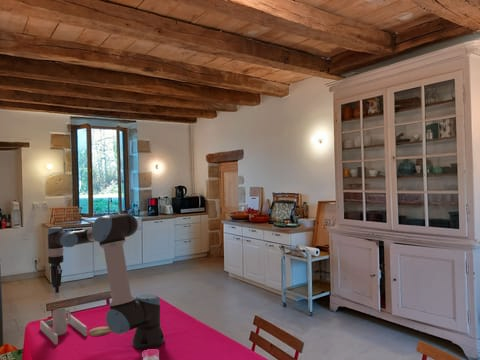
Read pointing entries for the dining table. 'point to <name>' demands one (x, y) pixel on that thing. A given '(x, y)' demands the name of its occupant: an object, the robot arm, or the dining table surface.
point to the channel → (54, 336)
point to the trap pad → (49, 322)
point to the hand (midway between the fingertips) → (56, 298)
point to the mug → (60, 320)
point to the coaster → (99, 331)
